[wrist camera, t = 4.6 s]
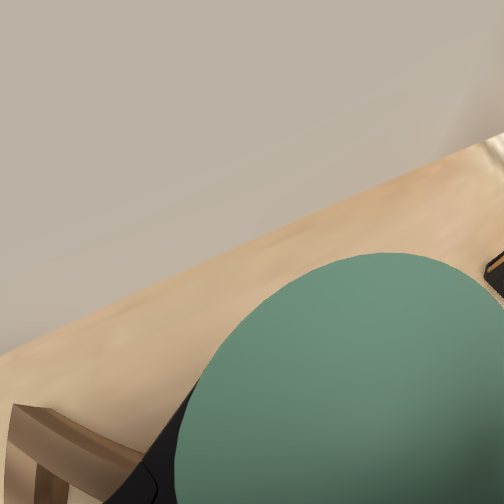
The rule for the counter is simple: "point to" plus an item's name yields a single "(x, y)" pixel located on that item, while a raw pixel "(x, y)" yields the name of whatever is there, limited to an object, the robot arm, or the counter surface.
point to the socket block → (60, 459)
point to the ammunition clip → (496, 273)
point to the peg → (354, 393)
